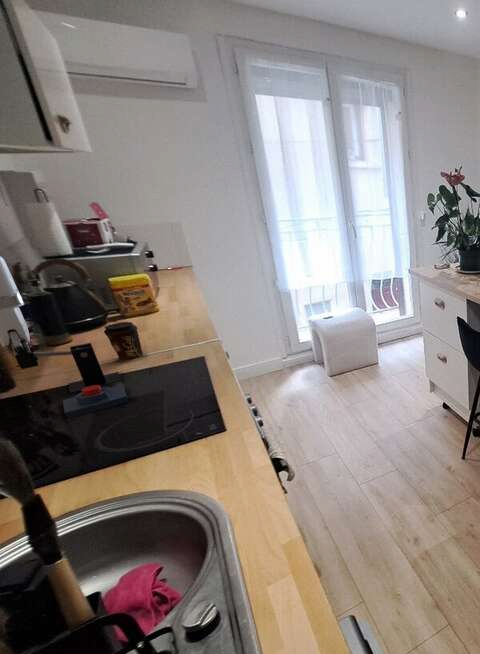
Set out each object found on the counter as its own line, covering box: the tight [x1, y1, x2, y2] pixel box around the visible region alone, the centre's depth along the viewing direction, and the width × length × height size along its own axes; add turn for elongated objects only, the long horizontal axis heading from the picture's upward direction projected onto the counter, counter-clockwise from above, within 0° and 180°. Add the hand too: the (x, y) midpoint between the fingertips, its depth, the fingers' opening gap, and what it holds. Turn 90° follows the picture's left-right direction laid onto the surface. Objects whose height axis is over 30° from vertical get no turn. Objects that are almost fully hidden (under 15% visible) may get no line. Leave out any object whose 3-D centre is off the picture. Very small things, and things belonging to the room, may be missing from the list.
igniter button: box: [80, 385, 102, 396], centre depth 113 cm, size 4×4×2 cm
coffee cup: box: [103, 321, 144, 362], centre depth 142 cm, size 9×8×13 cm
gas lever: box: [33, 348, 80, 357], centre depth 118 cm, size 13×5×2 cm, turn 139°
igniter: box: [62, 384, 130, 419], centre depth 114 cm, size 12×10×4 cm
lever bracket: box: [68, 342, 123, 394], centre depth 123 cm, size 11×9×13 cm
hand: (29, 363), depth 114 cm, fingers closed on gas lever, 5 cm apart
